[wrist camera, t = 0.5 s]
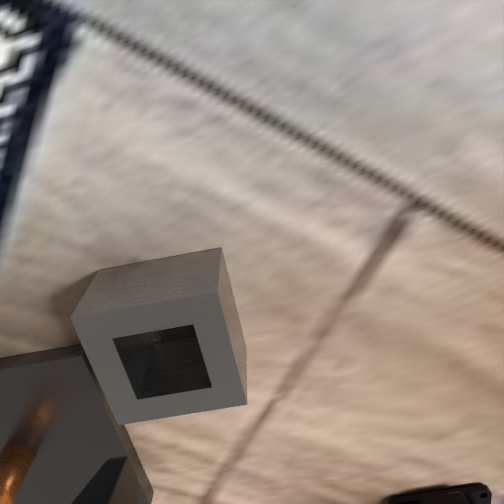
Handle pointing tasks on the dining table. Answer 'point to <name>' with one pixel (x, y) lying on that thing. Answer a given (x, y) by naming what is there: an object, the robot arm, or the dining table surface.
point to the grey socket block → (56, 428)
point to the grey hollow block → (167, 352)
